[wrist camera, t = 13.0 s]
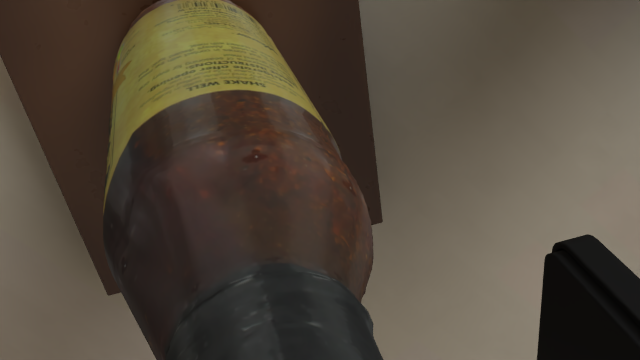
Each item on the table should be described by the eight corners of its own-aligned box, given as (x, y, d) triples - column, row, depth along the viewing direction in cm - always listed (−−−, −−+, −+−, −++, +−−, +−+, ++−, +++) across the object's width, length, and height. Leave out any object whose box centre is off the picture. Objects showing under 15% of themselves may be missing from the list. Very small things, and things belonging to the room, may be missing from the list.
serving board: (320, -251, 21) (330, -258, 20) (373, 207, 31) (382, 222, 30) (-93, -188, 19) (-110, -190, 18) (109, 276, 29) (107, 296, 28)
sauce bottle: (82, 48, 22) (-133, 644, 6) (213, -49, 22) (402, 294, 5) (190, 166, 26) (254, 751, 9) (305, 84, 25) (599, 549, 9)
